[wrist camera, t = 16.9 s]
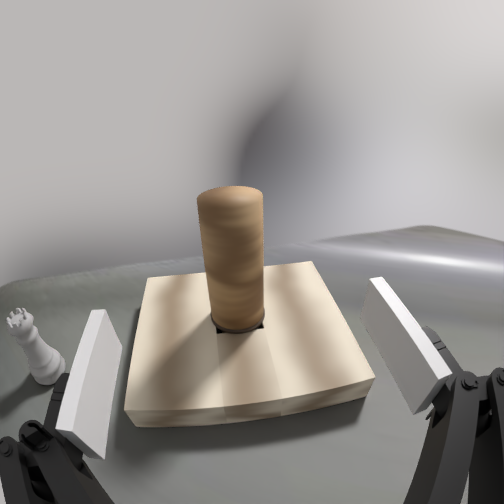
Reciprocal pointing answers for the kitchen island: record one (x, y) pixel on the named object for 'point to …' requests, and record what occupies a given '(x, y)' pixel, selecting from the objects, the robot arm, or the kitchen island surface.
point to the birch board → (241, 354)
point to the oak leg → (233, 256)
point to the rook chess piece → (35, 348)
